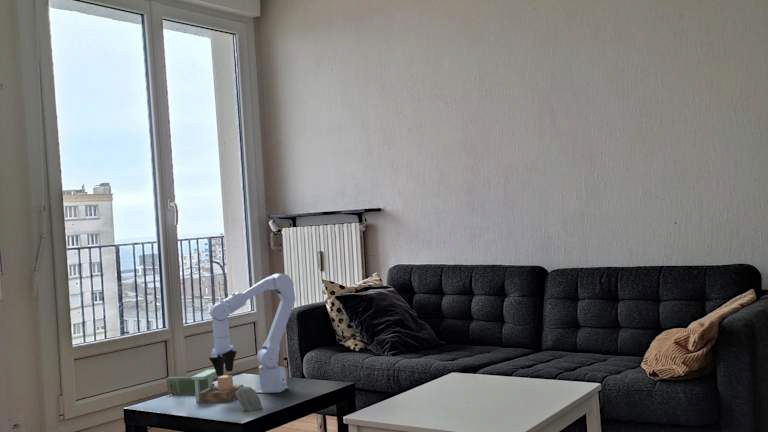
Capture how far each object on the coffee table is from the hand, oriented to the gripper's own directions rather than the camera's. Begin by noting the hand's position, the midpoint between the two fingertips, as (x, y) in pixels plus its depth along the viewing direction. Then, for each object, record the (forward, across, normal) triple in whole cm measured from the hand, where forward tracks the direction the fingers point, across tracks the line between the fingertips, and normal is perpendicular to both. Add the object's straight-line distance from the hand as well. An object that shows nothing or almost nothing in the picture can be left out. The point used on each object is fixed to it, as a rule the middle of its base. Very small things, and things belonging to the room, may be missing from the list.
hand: (224, 373), depth 291 cm
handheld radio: (+10, -9, -17) cm, 22 cm away
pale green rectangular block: (+9, 0, -8) cm, 12 cm away
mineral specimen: (+9, +18, +17) cm, 26 cm away
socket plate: (+9, 0, -2) cm, 9 cm away
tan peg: (+9, 0, 0) cm, 9 cm away
